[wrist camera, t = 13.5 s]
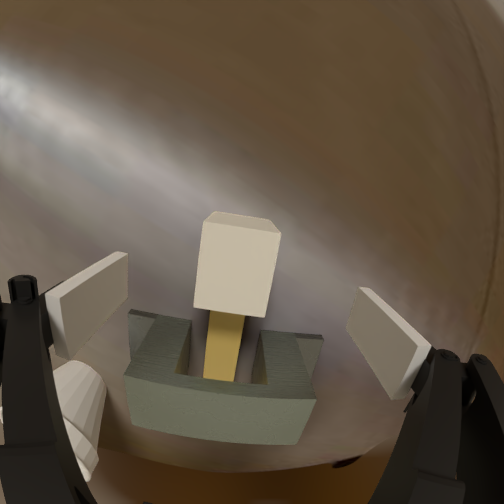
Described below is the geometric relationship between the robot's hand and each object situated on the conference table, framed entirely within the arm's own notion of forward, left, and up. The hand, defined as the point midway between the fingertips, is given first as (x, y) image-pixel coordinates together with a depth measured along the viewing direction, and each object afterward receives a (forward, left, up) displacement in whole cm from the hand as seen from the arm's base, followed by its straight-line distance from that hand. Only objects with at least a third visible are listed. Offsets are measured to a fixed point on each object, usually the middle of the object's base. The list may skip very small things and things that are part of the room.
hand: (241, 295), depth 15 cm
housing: (0, -11, -11) cm, 15 cm away
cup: (-18, -21, -11) cm, 30 cm away
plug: (0, -7, -11) cm, 13 cm away
